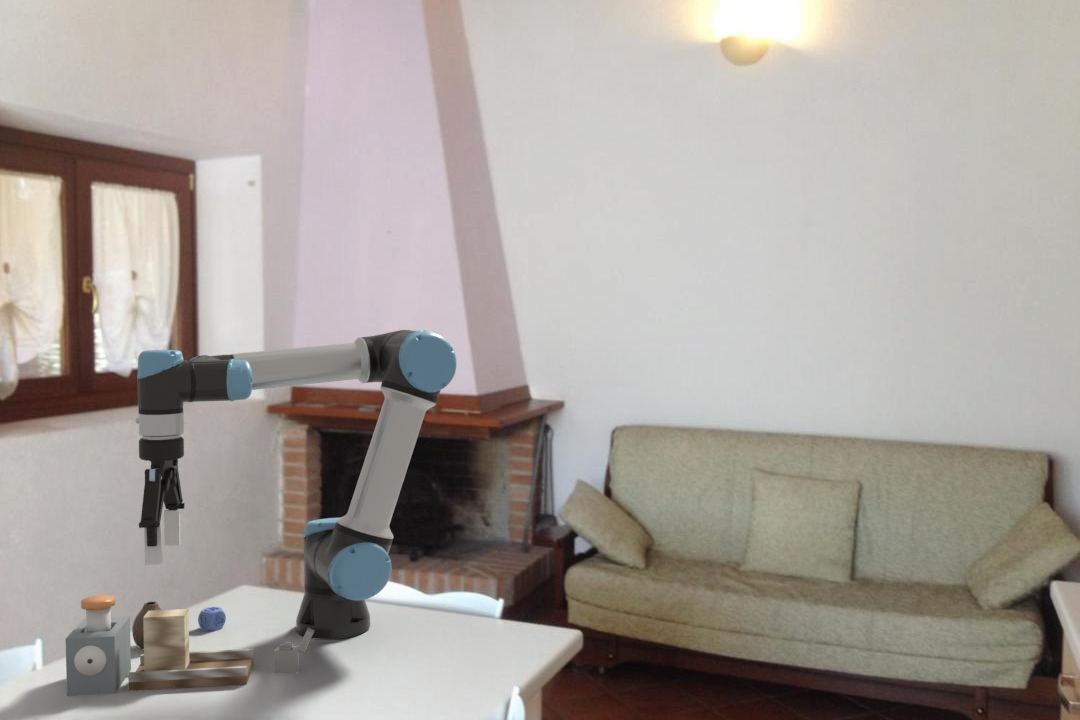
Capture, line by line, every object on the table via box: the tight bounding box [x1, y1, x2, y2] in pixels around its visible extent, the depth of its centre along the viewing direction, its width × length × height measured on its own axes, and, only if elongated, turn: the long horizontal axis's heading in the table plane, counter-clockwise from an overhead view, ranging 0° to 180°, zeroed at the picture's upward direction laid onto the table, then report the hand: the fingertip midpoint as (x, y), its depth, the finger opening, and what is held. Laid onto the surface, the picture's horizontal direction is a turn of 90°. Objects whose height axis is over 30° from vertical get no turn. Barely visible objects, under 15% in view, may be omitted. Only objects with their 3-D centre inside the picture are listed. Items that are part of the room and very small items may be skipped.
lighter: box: [274, 628, 315, 675], centre depth 185 cm, size 7×2×8 cm, turn 95°
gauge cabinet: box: [65, 616, 132, 696], centre depth 179 cm, size 8×12×10 cm
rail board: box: [127, 648, 254, 692], centre depth 182 cm, size 20×10×3 cm, turn 99°
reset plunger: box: [80, 594, 116, 632], centre depth 179 cm, size 6×6×8 cm
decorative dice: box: [197, 606, 227, 632], centre depth 209 cm, size 4×4×4 cm
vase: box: [131, 601, 163, 651], centre depth 198 cm, size 7×7×9 cm
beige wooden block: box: [143, 608, 190, 671], centre depth 181 cm, size 7×4×10 cm, turn 99°
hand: (163, 554), depth 180 cm, fingers open, 13 cm apart
